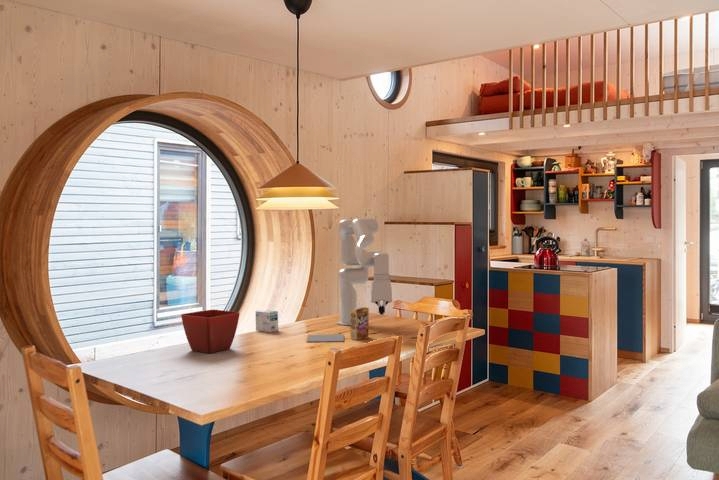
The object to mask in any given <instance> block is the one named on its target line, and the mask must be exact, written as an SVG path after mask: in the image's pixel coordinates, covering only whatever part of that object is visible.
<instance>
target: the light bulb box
mask: <svg viewBox="0 0 719 480" xmlns="http://www.w3.org/2000/svg"><path fill="white" fill-rule="evenodd" d="M278 313H279V310H270V309H259V310H256V311H255V331H258V332H264V333H273V332H278V331H279V314H278Z"/></svg>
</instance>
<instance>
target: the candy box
mask: <svg viewBox="0 0 719 480" xmlns="http://www.w3.org/2000/svg"><path fill="white" fill-rule="evenodd" d="M369 310H370V309H369V307H367V306H362V307H361V306H360V307H357V308H352V309H351V325H350V340H354V341H357V340H361V339H367V338H369V323H370V322H369V318H370V317H369V316H370V315H369V312H370V311H369Z"/></svg>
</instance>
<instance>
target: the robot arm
mask: <svg viewBox="0 0 719 480" xmlns="http://www.w3.org/2000/svg"><path fill="white" fill-rule="evenodd" d="M337 227H338V228H337V231H338V237H339V240H340V262H341V265H343V266H358V267H345V268H342V269H340V270H338V273H337V277H338V278H337V280H338V285H339V286H338V287H339V320H338V321H336V323H337V325H340V326H351V309H352V308H358V307H357V306H358V305H357V304H358V301H357V297H358V296H357V295H358V294H357V290H356V289H355V287H354V285H365V284H366V283H368V281H369V276H370V275H369V272H370V271H369V267H371V268H372V267H373V279H372V281H371V290H370V291H371V292H370V293H371V294H370V296H371V298H370V303H371V304H376V306H377V307H378V313H379V314H380V315H383V316H384V315H385V313H386V306H387V305H389V304H390V303H393V299H392V298H393V290H392V282H391V280H390V279H392V278H393V275H392V274H390V259H389V258H390V255H389V253H387V252H382V251H367V250H366V248H367V247H370V246H371V245H372V244H373V243H374V241H375V238H374V235H375V234H377V233H378V231H379V223H378V220H377V219H376V218H374V217H359V218H349V219H348V218H347V219H342V220H340V221H339V223H338V226H337ZM355 237H356V238H355ZM356 240H357V242H356ZM381 301H382V305H381Z"/></svg>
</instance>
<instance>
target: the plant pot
mask: <svg viewBox="0 0 719 480" xmlns="http://www.w3.org/2000/svg"><path fill="white" fill-rule="evenodd" d="M180 316H181V317H180V318H181V322H182V326H183V330H184V334H185V336H186V340H187V343H188V345H189V347H190V349H191V351H194V352H195V351H196V352H199V353H205V354H206V353H207V354H212V353H216V352H221V351H227V350H230V349H231V346H232V344H233V341H234V339H235V337H236V332H237V329H238V324H239V319H240V312H238V311H231V310H222V309H209V310H208V309H206V310H201V311H193V312H188V313H182V314H180Z"/></svg>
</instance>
